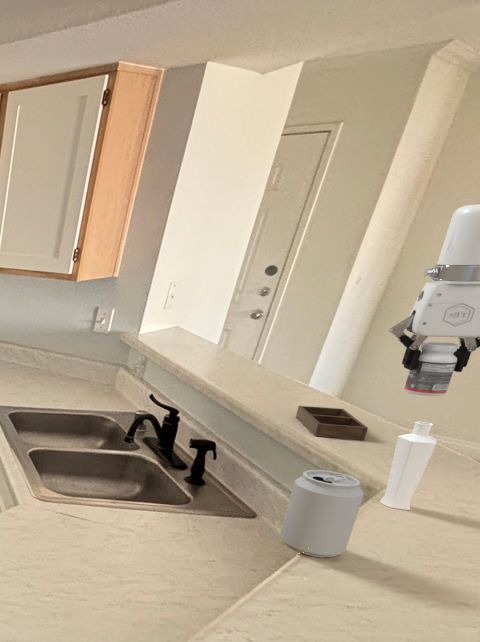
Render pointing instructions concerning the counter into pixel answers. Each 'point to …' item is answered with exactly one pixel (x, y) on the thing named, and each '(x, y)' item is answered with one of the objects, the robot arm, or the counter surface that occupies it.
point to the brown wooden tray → (331, 423)
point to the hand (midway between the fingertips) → (431, 368)
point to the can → (321, 513)
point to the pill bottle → (432, 369)
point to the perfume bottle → (408, 465)
